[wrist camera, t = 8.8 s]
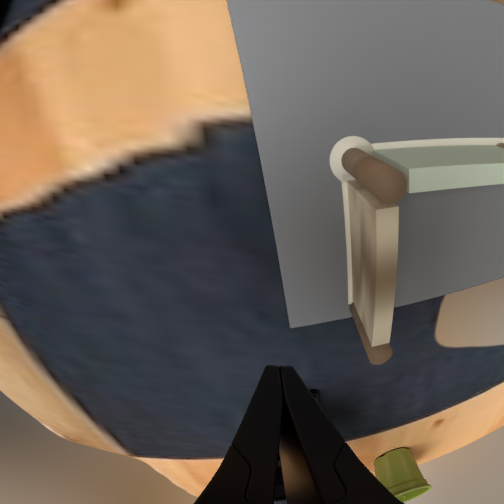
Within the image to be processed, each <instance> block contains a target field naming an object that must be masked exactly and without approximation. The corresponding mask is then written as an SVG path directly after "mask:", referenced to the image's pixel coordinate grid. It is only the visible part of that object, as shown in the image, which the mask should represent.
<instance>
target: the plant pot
mask: <svg viewBox="0 0 504 504" xmlns="http://www.w3.org/2000/svg"><path fill="white" fill-rule="evenodd" d="M375 476H376V478H377V479H378V480H379V481H380V482H381V483H382V484H383V485H384V486H385V487H386V488H387V489H388V490H389V491H390V492H391V493H392V494H393V495H394V496H395V497H396V498H397V499H399V500H400V501H401V502H403V503H404V502H407V501H409V500H411V499H414V498H416V497H418V496H420V495H422V494H424V493H426V492H427V491H429V490H430V489H431V488H432V486H431V485H428V483H427V481H426V479H424V478H423V476H422V474H421V472H420V470H419V468H418V466H417V463H416V461H415V459H414V457H413V455H412V453H411V451H410V449H405V448H399V449H396V450H392V451H390V452H387V453H386V454H385V455H384V456H382V457H378V458H377V459H376V460H375Z"/></svg>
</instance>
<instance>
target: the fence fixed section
mask: <svg viewBox="0 0 504 504" xmlns="http://www.w3.org/2000/svg"><path fill="white" fill-rule="evenodd" d="M341 163H342V166H343V168H344V169H345V170H346V171H347V172H348V173H349V174H350V175H352V176H353V177H354V178H355V179H356V180H349V181H347V192H348V205H349V219H350V236H351V259H352V300H353V302H352V304H350V311H351V314H352V316H353V319H354V321H355V324H356V327H357V329H358V332H359V334H360V337H361V340H362V342H363V345H364V348H365V350H366V353H367V356H368V359H369V361H370V363H371V364H373V365H380V364H383V363H385V362H386V361H388V360H389V359H390V358H391V356H392V349H391V347H390V345H389V342H390V335H391V327H392V319H393V310H394V300H395V289H396V276H397V259H398V230H399V206H397V205H396V204H395V203H396V202H398V201H399V200H400V199H401V198H402V197H403V196H404V194H405V192H406V187H407V183H406V179H405V177H404V175H403V174H402V173H401V172H399V171H398V170H396V169H394V168H393V167H391V166H389V165H388V164H386V163H384V162H382V161H381V160H379V159H377V158H375V157H373V156H372V155H370V154H368V153H366V152H364V151H362V150H360V149H358V148H349V149H347V150H346V151H345V152H344V153H343V155H342V158H341Z"/></svg>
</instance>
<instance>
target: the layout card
mask: <svg viewBox="0 0 504 504" xmlns="http://www.w3.org/2000/svg"><path fill="white" fill-rule="evenodd" d="M227 4H228V9H229V13H230V17H231V22H232V26H233V30H234V35H235V39H236V44H237V48H238V53H239V58H240V62H241V67H242V72H243V76H244V81H245V86H246V91H247V95H248V100H249V105H250V110H251V115H252V120H253V125H254V130H255V135H256V140H257V145H258V150H259V155H260V160H261V165H262V171H263V176H264V181H265V186H266V192H267V197H268V203H269V208H270V213H271V219H272V225H273V230H274V236H275V241H276V247H277V253H278V258H279V264H280V270H281V276H282V282H283V288H284V294H285V300H286V306H287V312H288V318H289V324H290V328H296V327H301V326H307V325H313V324H318V323H324V322H329V321H334V320H340V319H345V318H350V317H353V316H352V314H351V311H350V304H352V302H353V300H352V259H351V236H350V219H349V205H348V192H347V181H349V180H356V179H355V178H354V177H353V176H352V175H350V174H349V173H348V172H347V171H346V170H345V169H344V168H343V166H342V163H341V158H342V155H343V153H344V152H345V151H346V150H347V149H349V148H358V149H360V150H362V151H364V152H366V153H368V154H370V155H372V156H373V157H374V153H373V150H380V149H393V148H408V147H426V146H453V145H495V146H496V145H497V144H498V143H504V5H502V4H499V3H496V2H494V1H491V0H227ZM395 204H396V205H397V206H399V230H398V259H397V276H396V289H395V300H394V308H395V307H399V306H404V305H408V304H412V303H416V302H420V301H424V300H428V299H431V298H435V297H439V296H443V295H446V294H450V293H453V292H457V291H460V290H464V289H467V288H471V287H474V286H477V285H481V284H484V283H487V282H490V281H493V280H497V279H500V278H503V277H504V184H496V185H485V186H474V187H464V188H454V189H444V190H435V191H426V192H417V193H408V192H407V191H406V192H405V194H404V196H403V197H402V198H401V199H400V200H399V201H398V202H396V203H395Z"/></svg>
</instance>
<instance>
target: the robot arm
mask: <svg viewBox="0 0 504 504" xmlns="http://www.w3.org/2000/svg"><path fill="white" fill-rule="evenodd" d="M194 504H404V503H403V502H401V501H400V500H399V499H397V498H396V497H395V496H394V495H393V494H392V493H391V492H390V491H389V490H388V489H387V488H386V487H385V486H384V485H383V484H382V483H381V482H380V481H379V480H378V479H377V478H376V477H375V476H374V475H373V474H372V473H371V472H370V471H369V470H368V469H367V468H366V467H365V466H364V464H363V463H362V462H361V461H360V460H359V459H358V457H357V456H356V455H355V453H354V452H353V451H352V450H351V448H350V447H349V445H348V444H347V443H345V440H344V439H343V437H342V436H341V434H340V433H339V432H338V430H337V429H336V428H335V426H334V425H333V423H332V422H331V421H330V419H329V418H328V416H327V415H326V414H325V412H324V411H323V409H322V408H321V406H320V405H319V394H318V391H316V390H313V391H309V389H308V388H307V386H306V385H305V384H304V382H303V381H302V379H301V378H300V376H299V375H298V374H297V372H296V371H295V369H294V368H293V367H292V366H280V367H279V366H276V365H267V366H266V367H265V369H264V372H263V374H262V376H261V379H260V381H259V383H258V386H257V388H256V390H255V393H254V395H253V397H252V399H251V402H250V404H249V406H248V409H247V411H246V413H245V415H244V417H243V420H242V422H241V424H240V426H239V428H238V431H237V433H236V435H235V437H234V439H233V441H232V444H231V446H230V448H229V450H228V452H227V454H226V456H225V458H224V460H223V462H222V463H221V465H220V467H219V469H218V470H217V472H216V473H215V475H214V476H213V478H212V479H211V481H210V482H209V484H208V485H207V486H206V488H205V489H204V491H203V492H202V493H201V495H200V496H199V497H198V499H197V500H196V501H195V503H194Z"/></svg>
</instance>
